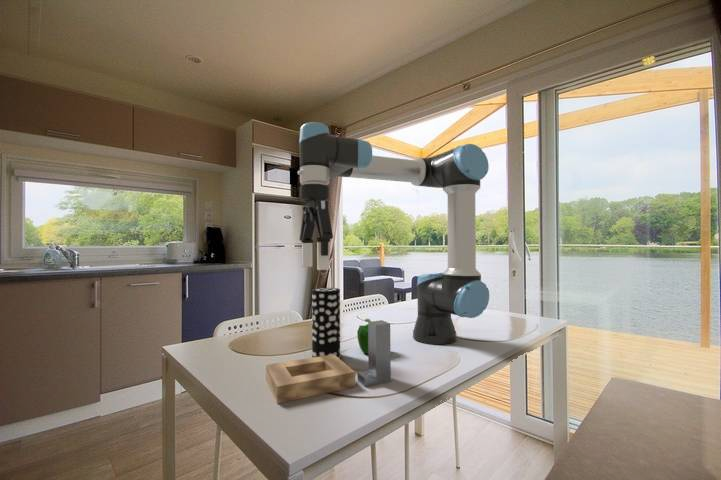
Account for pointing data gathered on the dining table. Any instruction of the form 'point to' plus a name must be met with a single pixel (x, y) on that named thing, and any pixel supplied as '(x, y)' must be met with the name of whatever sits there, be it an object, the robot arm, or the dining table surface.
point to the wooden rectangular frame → (308, 377)
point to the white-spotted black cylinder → (325, 322)
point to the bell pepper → (363, 337)
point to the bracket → (377, 355)
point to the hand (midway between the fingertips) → (314, 268)
